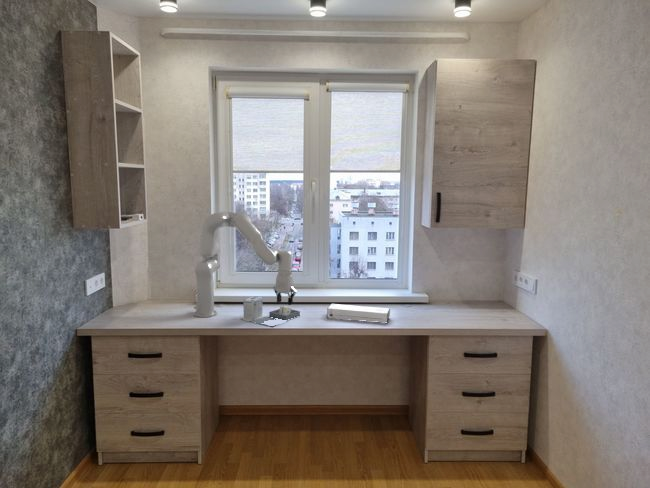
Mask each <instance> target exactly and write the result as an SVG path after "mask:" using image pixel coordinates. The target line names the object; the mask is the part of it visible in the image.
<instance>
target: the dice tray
mask: <svg viewBox="0 0 650 488" xmlns="http://www.w3.org/2000/svg"><path fill="white" fill-rule="evenodd" d="M279 310H280V308H278V309H275V310H271V311H269V312H268V314H269V316H268V317H273V318H278V319H282V320H287V321H289V320H288V319H290V320H292V319H291V318H293V319H295V318H294V317H296V318H298V317H297V316H299V317H300V315H301V314H300V313H301V311H300V310H296V309H292V308H291V312H290V314H288V315H282V314H279Z"/></svg>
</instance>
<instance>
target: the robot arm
mask: <svg viewBox="0 0 650 488" xmlns="http://www.w3.org/2000/svg"><path fill="white" fill-rule="evenodd" d="M224 227H229V228H235V229H236V230H237V231H238V232H239V234H240V235H241V236H242V237H243V238H244V239H245V240H246V241H247V242H248V244H249V245H250V247H251V249H252V250H253V252H254V253H255V254H256V256H257V257H258V258H259V260H261V261H262V262H263V263H264V264H265V265H268V266H273V265H275V263H276V264H277V263H278V265H277V267H278V268H277V272H276V273H277V275H276V279H275V285H274V286H273V291H274V293H275V296H276V303H281V302H282V294H286V295H287V296H288V298H287V304H288V306H291V305H293V302H294V301H293V300H294V299H293V298H294V296H296V294H297V289H295V288H294V277H293V274H292V273H293V272H292V268H293V261H292V259H293V257H292V256H293V254H292V252H291V251H290V250H277V249H270V247H268V245H267V244H266V243H265V241H264V239H263V235H262V233H261V232H260V230H258V228H257V227H256V226H255V224H253V222H252V219H251V217H250V216H249V215H248V214H246V213H240V212H231V211H230V212H229V211H219V212H214V213H211V214H208V216H207V217H206V218H205V219H204V220H203V223H202V226H201V234H200V240H199V247H198V252H199V255H200V256H201V257H202V259H201V260H199V261H198V262H197V263H196V265H195V266H194V275H195V282H196V283H195V284H196V286H195V287H196V291H195V293H196V305H195V306H194V307H193V309H194V310H195V312H193V315H194V316H195V317H198V318H209V317H214V316H216V315H217V314H218V311H217V310H215V290H214V289H215V286H214V283H215V282H214V276H213V273H215V272H216V271H217V270H218V267H219V261H220V254H221V246H220V244H219V242H218V241H217V237H218V229H219V228H224Z"/></svg>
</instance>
